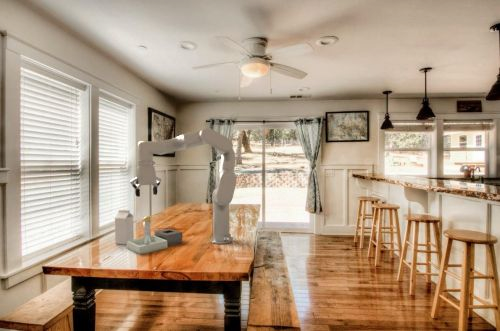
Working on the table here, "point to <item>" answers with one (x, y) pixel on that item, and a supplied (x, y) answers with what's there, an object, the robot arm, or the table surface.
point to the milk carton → (123, 227)
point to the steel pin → (146, 230)
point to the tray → (140, 248)
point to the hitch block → (169, 236)
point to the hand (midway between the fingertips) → (146, 195)
